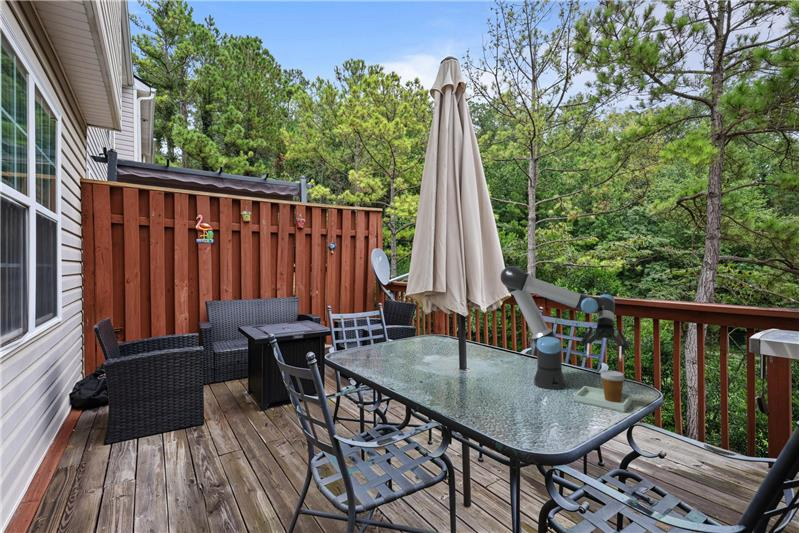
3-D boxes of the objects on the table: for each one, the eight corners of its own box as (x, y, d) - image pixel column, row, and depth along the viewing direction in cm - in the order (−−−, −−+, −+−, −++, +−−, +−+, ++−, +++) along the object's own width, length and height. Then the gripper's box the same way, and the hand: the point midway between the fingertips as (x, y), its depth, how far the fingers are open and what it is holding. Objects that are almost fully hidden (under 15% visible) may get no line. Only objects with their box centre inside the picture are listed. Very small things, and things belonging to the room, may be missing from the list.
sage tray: (573, 401, 174) (573, 395, 174) (584, 392, 186) (584, 385, 186) (624, 412, 161) (624, 405, 161) (632, 401, 173) (632, 394, 173)
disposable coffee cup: (613, 405, 167) (612, 377, 167) (595, 397, 176) (595, 371, 176) (630, 402, 170) (629, 374, 170) (612, 395, 179) (611, 369, 179)
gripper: (634, 327, 191) (634, 365, 178) (579, 324, 204) (575, 359, 191) (634, 318, 186) (634, 356, 174) (577, 315, 199) (574, 350, 187)
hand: (603, 358), depth 182 cm, fingers open, 13 cm apart
